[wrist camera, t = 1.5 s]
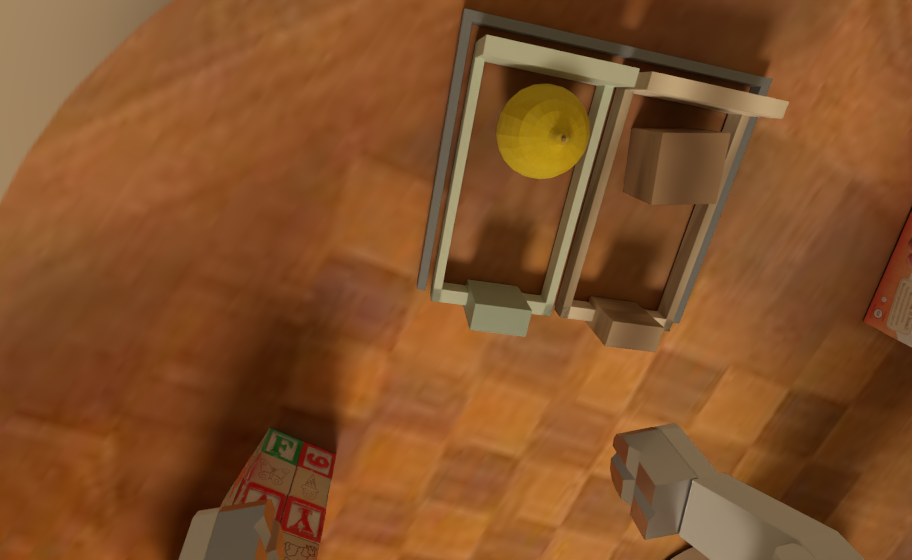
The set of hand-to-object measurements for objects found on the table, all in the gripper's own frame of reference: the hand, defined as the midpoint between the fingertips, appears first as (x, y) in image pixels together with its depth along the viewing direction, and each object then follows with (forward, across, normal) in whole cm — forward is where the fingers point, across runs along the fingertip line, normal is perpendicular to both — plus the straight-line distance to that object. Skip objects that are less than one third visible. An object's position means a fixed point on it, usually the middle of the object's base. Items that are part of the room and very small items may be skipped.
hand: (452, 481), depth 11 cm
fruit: (+25, +10, +3) cm, 27 cm away
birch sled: (+23, +18, -4) cm, 30 cm away
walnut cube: (+24, +19, 0) cm, 31 cm away
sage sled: (+24, +9, -1) cm, 26 cm away
